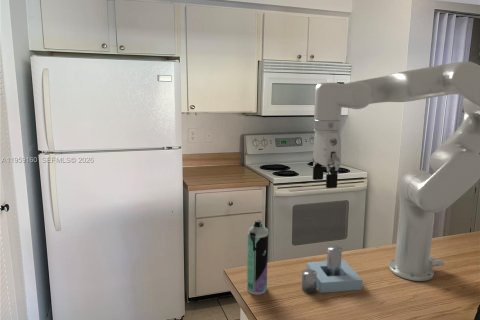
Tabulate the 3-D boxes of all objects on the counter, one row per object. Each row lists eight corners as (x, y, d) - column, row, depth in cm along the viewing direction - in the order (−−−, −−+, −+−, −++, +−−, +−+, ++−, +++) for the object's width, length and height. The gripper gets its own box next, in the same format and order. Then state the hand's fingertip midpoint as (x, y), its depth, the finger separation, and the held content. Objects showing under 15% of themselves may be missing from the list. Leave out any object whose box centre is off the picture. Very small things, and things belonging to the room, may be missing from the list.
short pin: (317, 286, 104) (316, 269, 103) (316, 293, 100) (316, 276, 99) (302, 285, 105) (302, 268, 104) (301, 292, 101) (301, 275, 100)
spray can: (265, 295, 99) (267, 225, 95) (245, 293, 100) (246, 223, 96) (267, 285, 104) (269, 218, 100) (248, 283, 105) (249, 216, 101)
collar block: (343, 269, 114) (344, 260, 113) (361, 289, 102) (362, 279, 102) (306, 271, 112) (306, 262, 112) (320, 292, 101) (321, 282, 100)
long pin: (336, 276, 110) (338, 244, 108) (342, 283, 106) (344, 250, 104) (324, 277, 109) (325, 245, 107) (329, 284, 105) (330, 251, 103)
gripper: (353, 129, 99) (349, 190, 102) (326, 123, 115) (324, 176, 119) (327, 129, 97) (324, 192, 100) (304, 123, 114) (302, 177, 117)
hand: (324, 183), depth 110 cm, fingers open, 9 cm apart
